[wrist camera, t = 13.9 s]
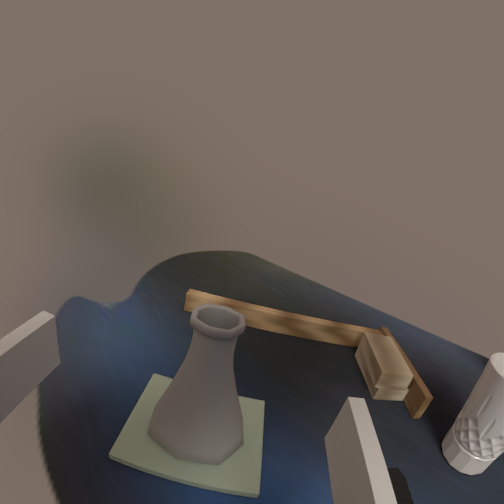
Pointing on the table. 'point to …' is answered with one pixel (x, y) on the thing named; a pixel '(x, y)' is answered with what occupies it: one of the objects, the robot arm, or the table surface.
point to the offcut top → (385, 362)
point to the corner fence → (314, 336)
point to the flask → (203, 392)
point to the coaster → (188, 472)
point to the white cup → (479, 423)
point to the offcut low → (375, 392)
